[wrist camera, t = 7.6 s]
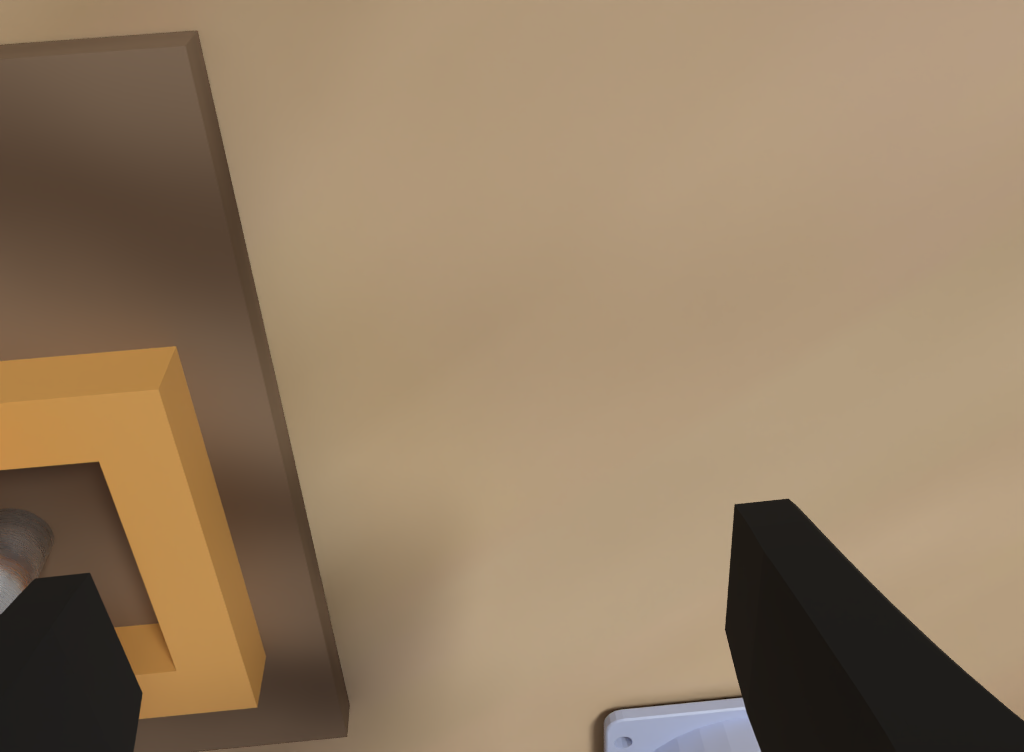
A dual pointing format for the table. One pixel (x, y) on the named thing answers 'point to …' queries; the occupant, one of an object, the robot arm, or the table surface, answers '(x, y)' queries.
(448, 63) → the table surface
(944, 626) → the table surface
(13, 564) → the keeper post
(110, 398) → the link
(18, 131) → the walnut board
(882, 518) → the table surface
